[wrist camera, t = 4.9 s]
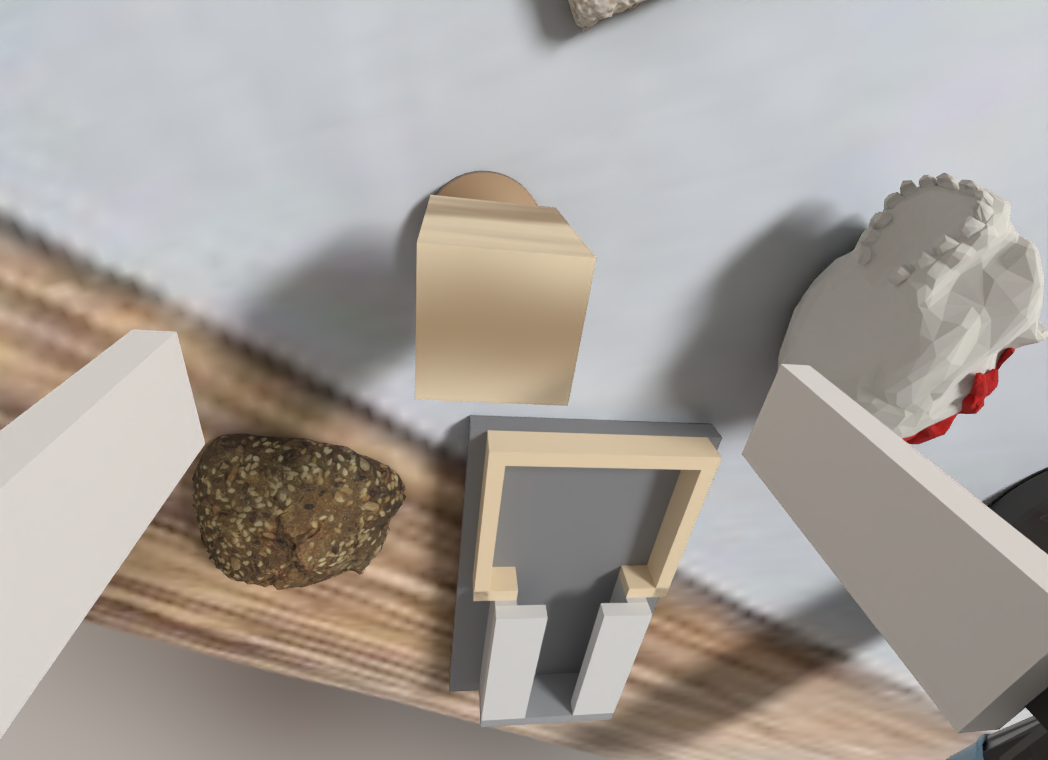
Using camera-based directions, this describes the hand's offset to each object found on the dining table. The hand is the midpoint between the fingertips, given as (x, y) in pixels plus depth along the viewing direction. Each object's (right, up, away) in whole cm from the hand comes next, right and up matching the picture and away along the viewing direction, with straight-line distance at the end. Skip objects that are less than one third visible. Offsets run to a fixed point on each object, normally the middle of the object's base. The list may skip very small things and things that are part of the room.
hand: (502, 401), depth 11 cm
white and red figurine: (+20, +4, +19) cm, 28 cm away
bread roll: (-14, -8, +22) cm, 27 cm away
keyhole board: (+3, -13, +27) cm, 30 cm away
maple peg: (-2, +8, +14) cm, 16 cm away
